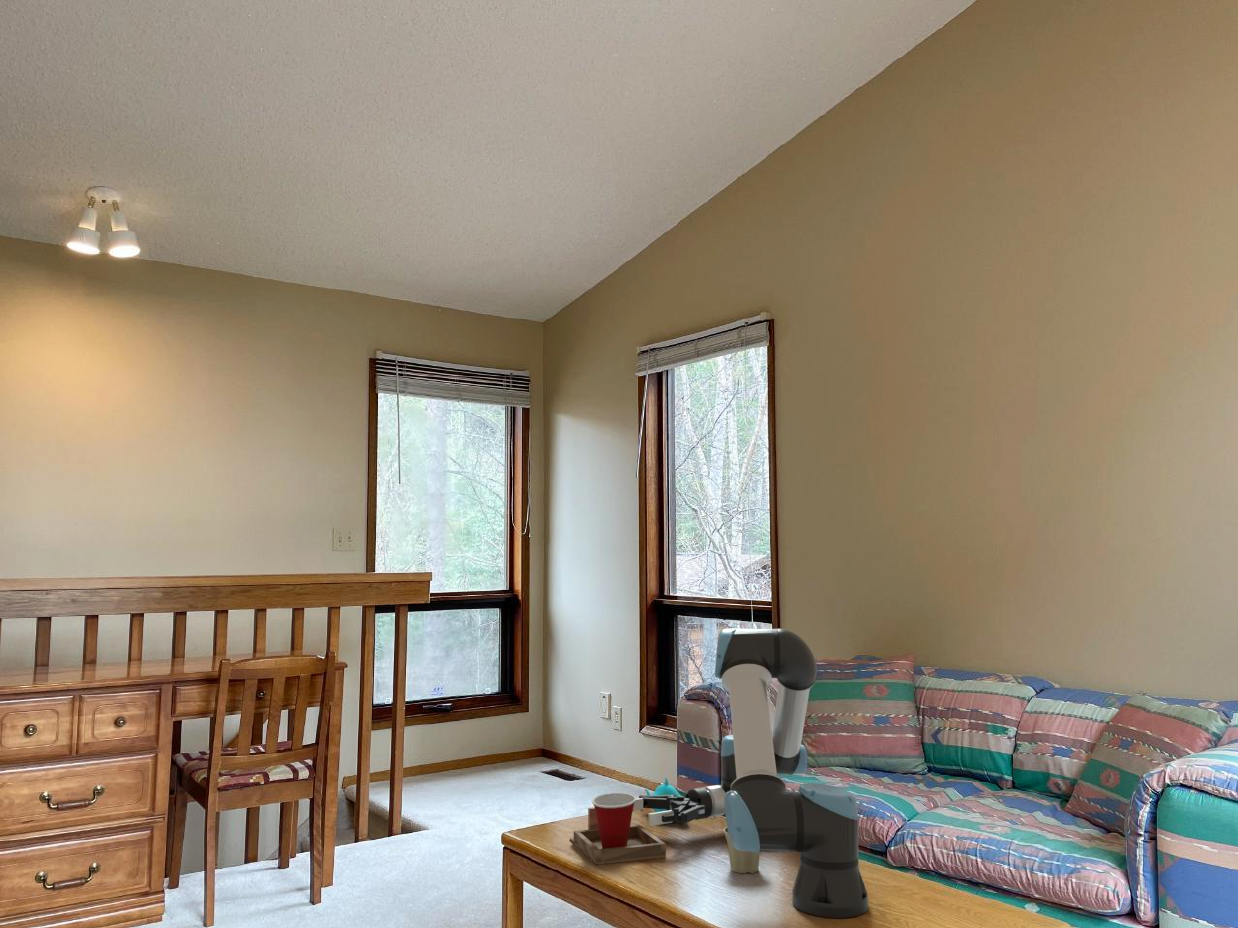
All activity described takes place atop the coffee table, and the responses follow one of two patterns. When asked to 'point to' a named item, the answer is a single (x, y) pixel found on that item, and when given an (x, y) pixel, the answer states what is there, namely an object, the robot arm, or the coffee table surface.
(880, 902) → the coffee table surface
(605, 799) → the plastic cup
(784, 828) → the robot arm
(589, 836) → the cup dock
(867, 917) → the coffee table surface
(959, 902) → the coffee table surface
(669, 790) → the toy shark
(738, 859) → the flower pot
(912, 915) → the coffee table surface
